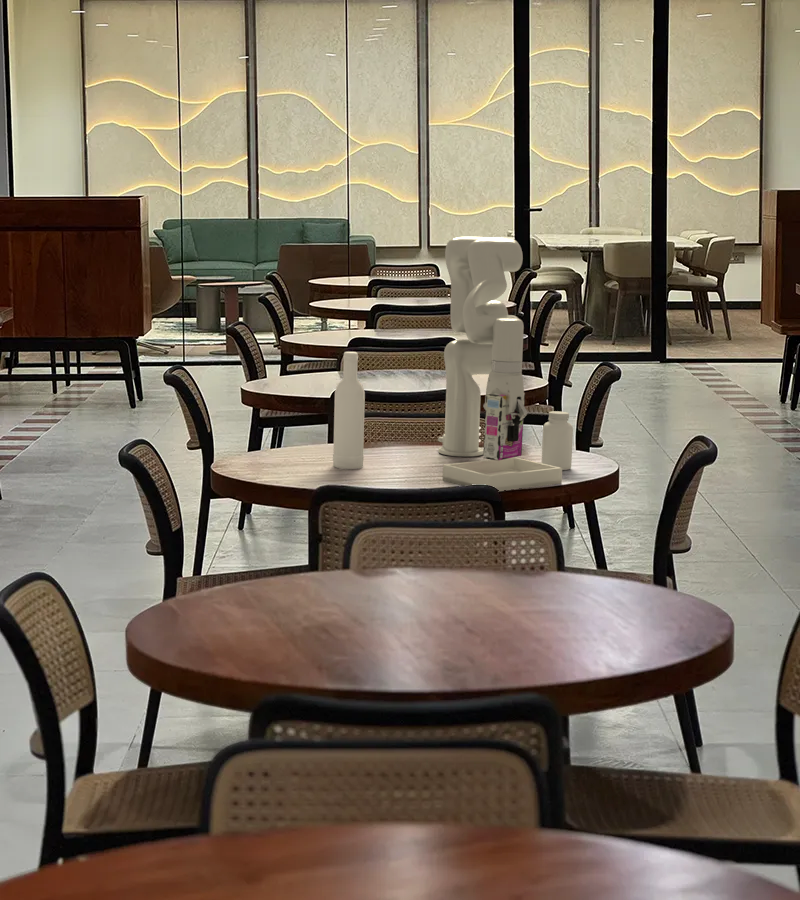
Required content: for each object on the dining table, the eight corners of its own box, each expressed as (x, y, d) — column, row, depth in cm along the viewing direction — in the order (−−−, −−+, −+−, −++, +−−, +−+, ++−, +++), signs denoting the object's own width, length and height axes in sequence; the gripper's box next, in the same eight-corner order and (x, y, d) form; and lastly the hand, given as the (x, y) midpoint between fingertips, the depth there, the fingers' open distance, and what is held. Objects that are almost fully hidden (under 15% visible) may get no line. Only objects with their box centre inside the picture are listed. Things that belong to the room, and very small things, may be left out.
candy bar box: (499, 461, 389) (501, 395, 386) (482, 459, 392) (484, 393, 389) (523, 456, 398) (525, 391, 395) (506, 453, 401) (508, 389, 398)
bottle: (367, 465, 413) (370, 351, 408) (356, 470, 406) (359, 354, 401) (339, 463, 416) (341, 350, 411) (328, 467, 409) (330, 352, 404)
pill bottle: (571, 466, 422) (573, 411, 419) (571, 471, 414) (574, 415, 411) (541, 465, 422) (543, 409, 420) (541, 470, 414) (543, 413, 412)
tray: (442, 480, 396) (443, 464, 395) (514, 472, 410) (514, 457, 410) (489, 492, 382) (489, 476, 381) (561, 483, 396) (562, 468, 396)
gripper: (472, 364, 396) (470, 435, 399) (518, 372, 382) (515, 445, 385) (495, 363, 400) (492, 433, 403) (541, 370, 387) (538, 443, 390)
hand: (503, 438), depth 394 cm, fingers closed on candy bar box, 6 cm apart
